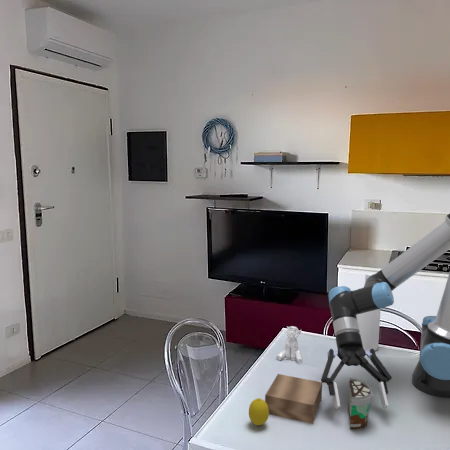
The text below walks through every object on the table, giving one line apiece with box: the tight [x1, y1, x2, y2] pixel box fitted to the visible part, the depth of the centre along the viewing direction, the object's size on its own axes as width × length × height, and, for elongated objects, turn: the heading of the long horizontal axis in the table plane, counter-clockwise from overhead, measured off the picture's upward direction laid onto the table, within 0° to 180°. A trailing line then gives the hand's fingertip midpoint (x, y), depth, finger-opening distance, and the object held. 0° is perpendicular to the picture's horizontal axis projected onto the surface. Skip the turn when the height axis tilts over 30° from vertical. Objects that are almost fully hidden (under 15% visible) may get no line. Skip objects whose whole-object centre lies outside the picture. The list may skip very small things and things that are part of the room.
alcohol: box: [356, 272, 382, 352], centre depth 176 cm, size 9×9×30 cm
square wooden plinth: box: [264, 373, 323, 425], centre depth 136 cm, size 14×14×6 cm
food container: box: [347, 377, 374, 431], centre depth 128 cm, size 12×6×10 cm, turn 168°
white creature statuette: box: [275, 325, 303, 365], centre depth 168 cm, size 10×9×12 cm
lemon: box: [248, 397, 270, 426], centre depth 125 cm, size 6×6×8 cm
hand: (361, 407), depth 127 cm, fingers open, 13 cm apart
